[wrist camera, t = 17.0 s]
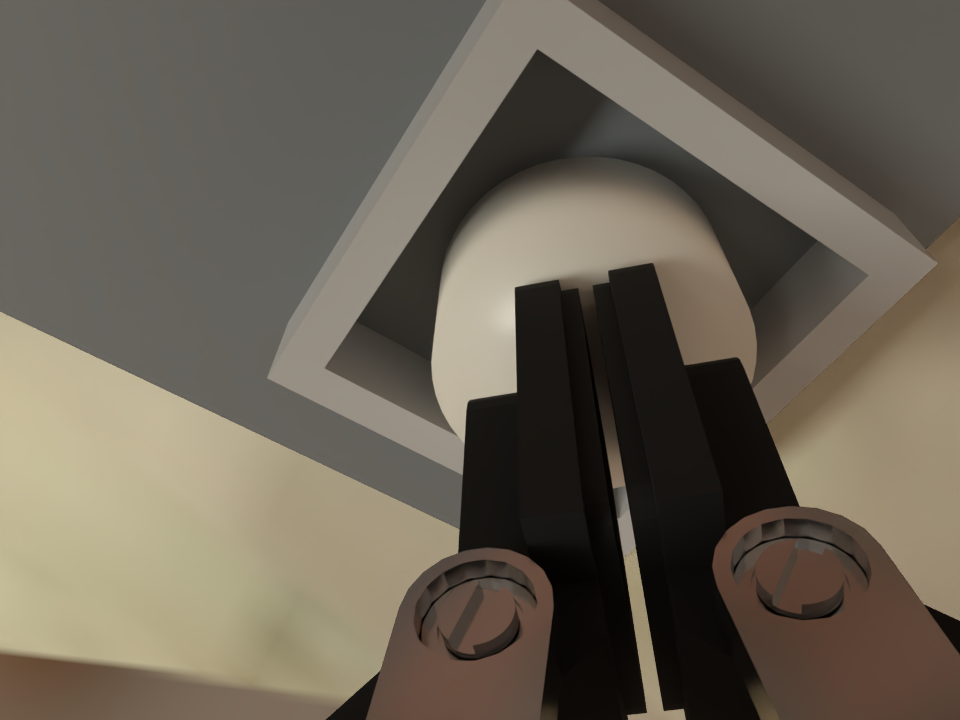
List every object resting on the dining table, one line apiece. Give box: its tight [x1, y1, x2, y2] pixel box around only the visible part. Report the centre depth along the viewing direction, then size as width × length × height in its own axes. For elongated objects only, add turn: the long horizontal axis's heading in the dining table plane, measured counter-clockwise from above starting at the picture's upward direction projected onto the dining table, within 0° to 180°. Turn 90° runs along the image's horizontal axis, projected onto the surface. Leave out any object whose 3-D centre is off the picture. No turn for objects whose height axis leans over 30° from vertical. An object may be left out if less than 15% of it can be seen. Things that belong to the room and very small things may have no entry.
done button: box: [431, 157, 757, 488], centre depth 12 cm, size 4×4×2 cm
